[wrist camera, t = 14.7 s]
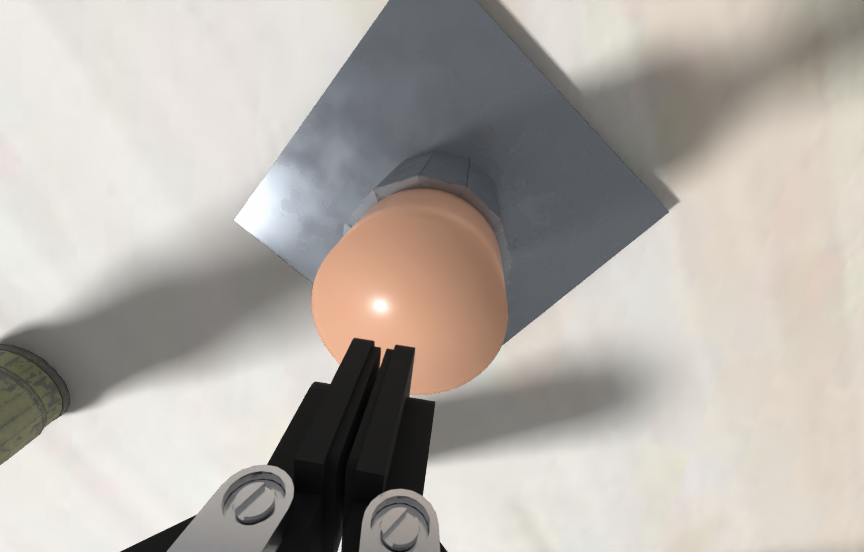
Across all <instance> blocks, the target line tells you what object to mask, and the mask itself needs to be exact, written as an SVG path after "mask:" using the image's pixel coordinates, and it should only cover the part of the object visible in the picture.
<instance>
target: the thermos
mask: <svg viewBox="0 0 864 552" xmlns="http://www.w3.org/2000/svg"><path fill="white" fill-rule="evenodd" d="M68 406H69V392H68V390H67V388H66V385H65V383H64V381H63V380H62V379H61V377H60V376H59V375H58V373H57V372H56V371H55V370H54V369H53V368H52V367H51V366H50V365H49V364H47V363H46V362H45V361H44V360H43V359H41V358H39V357H38V356H36V355H34V354H33V353H31V352H29V351H27V350H24V349H21V348H18V347H15V346H10V345H0V465H1V464H2V463H4V462H5V461H7V460H8V459H9V458H10V457H12V456H13V455H14V454H16V453H17V452H18V451H19V450H21V449H22V448H23V447H24V446H26V445H27V444H28V443H29V442H31V441H32V440H33V439H35V438H36V437H37V436H38V435H40V434H41V432H42V430H43V429H44V427H45V426H47V425H48V424H49V423H51V422H52V421H54V420H55V419H57V418H58V417H60V416H61V415H62V414H63V413H65V412H66V410H67V408H68Z"/></svg>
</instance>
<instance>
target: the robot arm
mask: <svg viewBox="0 0 864 552" xmlns="http://www.w3.org/2000/svg"><path fill="white" fill-rule="evenodd" d="M414 357H415V347H409V346H403V345H397V344H396V345H395V347H394V349H388V348H387V349H386V352H385V354H384V357H383V360H382V363H381V366H380V358H381V347H375V342H374V341H372V340H366V339H360V338H353V340H352V342H351V344H350V346H349V348H348V350H347V352H346V354H345V356H344V358H343V360H342V362H341V364H340V366H339V368H338V370H337V372H336V374H335V376H334V378H333V380H332V382H331V384H327V383H321V382H314V383H313V384H312V385H311V387H310V388H309V390H308V392H307V394H306V395H305V397H304V399H303V401H302V403H301V404H300V406H299V408H298V410H297V412H296V413H295V415H294V417H293V419H292V421H291V423H290V424H289V426H288V428H287V430H286V432H285V433H284V435H283V437H282V439H281V441H280V442H279V444H278V446H277V448H276V450H275V451H274V453H273V455H272V457H271V459H270V460H269V462H268V464H267V465H258V466H252V467H249V468H246V469H243V470H241V471H239V472H238V473H236V474H234V475H233V476H231V477H230V478H229V479H228V480H227V481H226V482H225V483H223V484H222V485H221V487H220V488H219V489H218V490H217V491H216V493H215V494H214V495H213V496H212V497H211V499H210V500H209V501H208V502H207V503H206V505H205V506H204V507H203V508H202V509H201V511H200V512H199V513H198V514H197V515H195V516H193V517H191V518H189V519H187V520H185V521H183V522H181V523H179V524H177V525H174V526H172V527H170V528H168V529H166V530H164V531H162V532H160V533H158V534H156V535H154V536H152V537H150V538H148V539H146V540H143V541H141V542H139V543H137V544H135V545H133V546H131V547H129V548H127V549H125V550H123V551H121V552H337V551H338V548H339V544H340V541H341V538H342V551H341V552H447V551H446V549H445V548H444V547H443V545H442V544H441V543H440V540H439V524H438V520H437V515H436V512H435V510H434V509H433V507H432V505H431V504H430V503H429V502H428V501H427V500H426V499H425V498H424V497H423V490H424V483H425V475H426V468H427V460H428V453H429V445H430V438H431V430H432V423H433V415H434V408H435V402H434V401H428V400H422V399H416V398H410V397H409V395H410V387H411V380H412V372H413V364H414Z"/></svg>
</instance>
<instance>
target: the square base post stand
mask: <svg viewBox="0 0 864 552" xmlns="http://www.w3.org/2000/svg"><path fill="white" fill-rule="evenodd" d="M414 188H431V189H437V190H442V191H445V192H448V193H451V194H454V195H456V196H458V197H460V198H462V199H464V200H465V201H467V202H468V203H470V204H471V205H472V206H474V207H475V208H476V209H477V210H478V211H479V212H480V213H481V214H482V215H483V216H484V217H485V218H486V220H487V221H488V223H489V224H490V226H491V227H492V229H493V231H494V233H495V235H496V238H497V241H498V244H499V248H500V253H501V261H502V268H503V275H504V283H505V290H506V298H507V305H508V323H507V330H506V334H505V338H504V341H503V343H502V345H503V344H505V343H506V342H507V341H508V340H510V339H511V338H512V337H513V336H515V335H516V334H517V333H518V332H520V331H521V330H522V329H523V328H525V327H526V326H527V325H528V324H530V323H531V322H532V321H533V320H535V319H536V318H537V317H538V316H540V315H541V314H542V313H543V312H545V311H546V310H547V309H548V308H550V307H551V306H552V305H553V304H555V303H556V302H557V301H558V300H560V299H561V298H562V297H563V296H565V295H566V294H567V293H568V292H570V291H571V290H572V289H573V288H575V287H576V286H577V285H578V284H580V283H581V282H582V281H583V280H585V279H586V278H587V277H588V276H590V275H591V274H592V273H593V272H595V271H596V270H597V269H598V268H600V267H601V266H602V265H603V264H605V263H606V262H607V261H608V260H610V259H611V258H612V257H613V256H615V255H616V254H617V253H618V252H620V251H621V250H622V249H623V248H625V247H626V246H627V245H628V244H630V243H631V242H632V241H633V240H635V239H636V238H637V237H638V236H640V235H641V234H642V233H643V232H645V231H646V230H647V229H649V228H650V227H651V226H652V225H654V224H655V223H656V222H657V221H659V220H660V219H661V218H662V217H664V216H665V215H666V214H667V213H669V211H668V210H667V209H666V208H665V207H664V206H663V205H662V204H661V203H660V202H659V201H658V199H657V198H656V197H655V196H654V195H653V194H652V193H651V192H650V191H649V190H648V189H647V187H646V186H645V185H644V184H643V183H642V182H641V181H640V180H639V179H638V178H637V176H636V175H635V174H634V173H633V172H632V171H631V170H630V169H629V168H628V167H627V166H626V164H625V163H624V162H623V161H622V160H621V159H620V158H619V157H618V156H617V155H616V153H615V152H614V151H613V150H612V149H611V148H610V147H609V146H608V145H607V144H606V143H605V141H604V140H603V139H602V138H601V137H600V136H599V135H598V134H597V133H596V132H595V130H594V129H593V128H592V127H591V126H590V125H589V124H588V123H587V122H586V121H585V120H584V118H583V117H582V116H581V115H580V114H579V113H578V112H577V111H576V110H575V109H574V108H573V106H572V105H571V104H570V103H569V102H568V101H567V100H566V99H565V98H564V97H563V95H562V94H561V93H560V92H559V91H558V90H557V89H556V88H555V87H554V86H553V85H552V83H551V82H550V81H549V80H548V79H547V78H546V77H545V76H544V75H543V74H542V72H541V71H540V70H539V69H538V68H537V67H536V66H535V65H534V64H533V63H532V62H531V60H530V59H529V58H528V57H527V56H526V55H525V54H524V53H523V52H522V51H521V49H520V48H519V47H518V46H517V45H516V44H515V43H514V42H513V41H512V40H511V39H510V37H509V36H508V35H507V34H506V33H505V32H504V31H503V30H502V29H501V28H500V27H499V25H498V24H497V23H496V22H495V21H494V20H493V19H492V18H491V17H490V16H489V14H488V13H487V12H486V11H485V10H484V9H483V8H482V7H481V6H480V5H479V4H478V2H477V1H476V0H389V2H388V3H387V4H386V6H385V7H384V9H383V10H382V11H381V13H380V14H379V16H378V17H377V19H376V20H375V21H374V23H373V24H372V26H371V27H370V28H369V30H368V31H367V33H366V34H365V36H364V37H363V38H362V40H361V41H360V43H359V44H358V45H357V47H356V48H355V50H354V51H353V53H352V54H351V55H350V57H349V58H348V60H347V61H346V62H345V64H344V65H343V67H342V68H341V70H340V71H339V72H338V74H337V75H336V77H335V78H334V79H333V81H332V82H331V84H330V85H329V87H328V88H327V89H326V91H325V92H324V94H323V95H322V96H321V98H320V99H319V101H318V102H317V103H316V105H315V106H314V108H313V109H312V111H311V112H310V113H309V115H308V116H307V118H306V119H305V120H304V122H303V123H302V125H301V126H300V128H299V129H298V130H297V132H296V133H295V135H294V136H293V137H292V139H291V140H290V142H289V143H288V145H287V146H286V147H285V149H284V150H283V152H282V153H281V154H280V156H279V157H278V159H277V160H276V162H275V163H274V164H273V166H272V167H271V169H270V170H269V171H268V173H267V174H266V176H265V177H264V179H263V180H262V181H261V183H260V184H259V186H258V187H257V188H256V190H255V191H254V193H253V194H252V196H251V197H250V198H249V200H248V201H247V203H246V204H245V205H244V207H243V208H242V210H241V211H240V213H239V214H238V215H237V217H236V218H235V220H234V221H236V222H237V223H238V224H239V225H241V226H242V227H243V228H244V229H246V230H247V231H248V232H249V233H251V234H252V235H253V236H254V237H256V238H257V239H258V240H259V241H261V242H262V243H263V244H264V245H266V246H267V247H268V248H269V249H271V250H272V251H273V252H274V253H276V254H277V255H278V256H279V257H281V258H282V259H283V260H284V261H286V262H287V263H288V264H289V265H291V266H292V267H293V268H294V269H296V270H297V271H298V272H299V273H301V274H302V275H303V276H304V277H306V278H307V279H308V280H309V281H311V282H312V283H313V284H314V280H315V277H316V275H317V272H318V270H319V268H320V266H321V264H322V262H323V260H324V259H325V258H326V256H327V255H328V254H329V252H330V251H331V250H332V249H333V248H334V247H335V246H336V245H337V243H338V242H339V241H340V240H341V239H342V238H343V237H344V236H345V235H346V234H347V232H348V231H349V230H350V229H351V228H352V227H353V226H354V225H355V224H356V223H357V222H358V220H359V219H360V218H361V217H362V216H363V215H364V214H365V213H366V212H367V211H368V210H369V209H370V208H371V207H372V206H373V205H374V204H375V203H377V202H378V201H379V200H381V199H383V198H385V197H386V196H388V195H390V194H393V193H396V192H398V191H402V190H407V189H414ZM502 345H501V346H502Z"/></svg>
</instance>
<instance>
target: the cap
mask: <svg viewBox="0 0 864 552" xmlns="http://www.w3.org/2000/svg"><path fill="white" fill-rule="evenodd" d="M312 313H313V318H314V322H315V326H316V328H317V331H318V333H319V336H320V338H321V340H322V341H323V343H324V345H325V347H326V348H327V349H328V351H329V352H330V353H331V355H332V356H333V357H334V358H335V359H336V360H337V361H338V363H339V364H341V362H342V360H343V358H344V356H345V354H346V352H347V350H348V348H349V346H350V344H351V342H352V340H353V338H360V339H366V340H372V341H374V342H375V347H381V358H380V366H381V363H382V360H383V357H384V354H385V352H386V349H387V348H388V349H394V347H395V345H396V344H397V345H403V346H409V347H415V357H414V364H413V372H412V380H411V387H410V395H428V394H436V393H440V392H445V391H449V390H451V389H454V388H457V387H459V386H461V385H463V384H465V383H467V382H469V381H471V380H472V379H473V378H475V377H476V376H478V375H479V374H480V373H481V372H482V371H483V370H485V369H486V368H487V367H488V365H489V364H490V363H491V362H492V361H493V360H494V358H495V356H496V355H497V353H498V352H499V350H500V348H501V345H502V343H503V341H504V338H505V334H506V330H507V323H508V305H507V298H506V290H505V283H504V275H503V268H502V261H501V253H500V248H499V244H498V241H497V238H496V235H495V233H494V231H493V229H492V227H491V226H490V224H489V223H488V221H487V220H486V218H485V217H484V216H483V215H482V214H481V213H480V212H479V211H478V210H477V209H476V208H475V207H474V206H472V205H471V204H470V203H468V202H467V201H465V200H464V199H462V198H460V197H458V196H456V195H454V194H451V193H448V192H445V191H442V190H437V189H431V188H414V189H407V190H402V191H398V192H396V193H393V194H390V195H388V196H386V197H385V198H383V199H381V200H379V201H378V202H377V203H375V204H374V205H373V206H372V207H371V208H370V209H369V210H368V211H367V212H366V213H365V214H364V215H363V216H362V217H361V218H360V219H359V220H358V222H357V223H356V224H355V225H354V226H353V227H352V228H351V229H350V230H349V231H348V232H347V234H346V235H345V236H344V237H343V238H342V239H341V240H340V241H339V242H338V243H337V245H336V246H335V247H334V248H333V249H332V250H331V251H330V252H329V254H328V255H327V256H326V258H325V259H324V260H323V262H322V264H321V266H320V268H319V270H318V272H317V275H316V277H315V280H314V284H313V290H312Z"/></svg>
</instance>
